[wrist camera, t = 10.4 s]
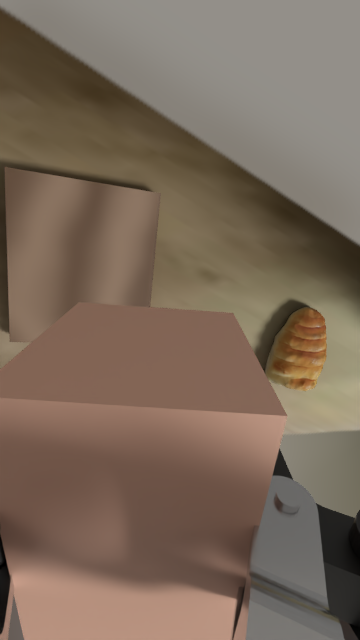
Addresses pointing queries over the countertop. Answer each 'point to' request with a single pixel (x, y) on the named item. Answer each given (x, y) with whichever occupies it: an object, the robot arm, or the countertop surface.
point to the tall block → (134, 472)
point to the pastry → (298, 351)
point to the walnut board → (74, 247)
